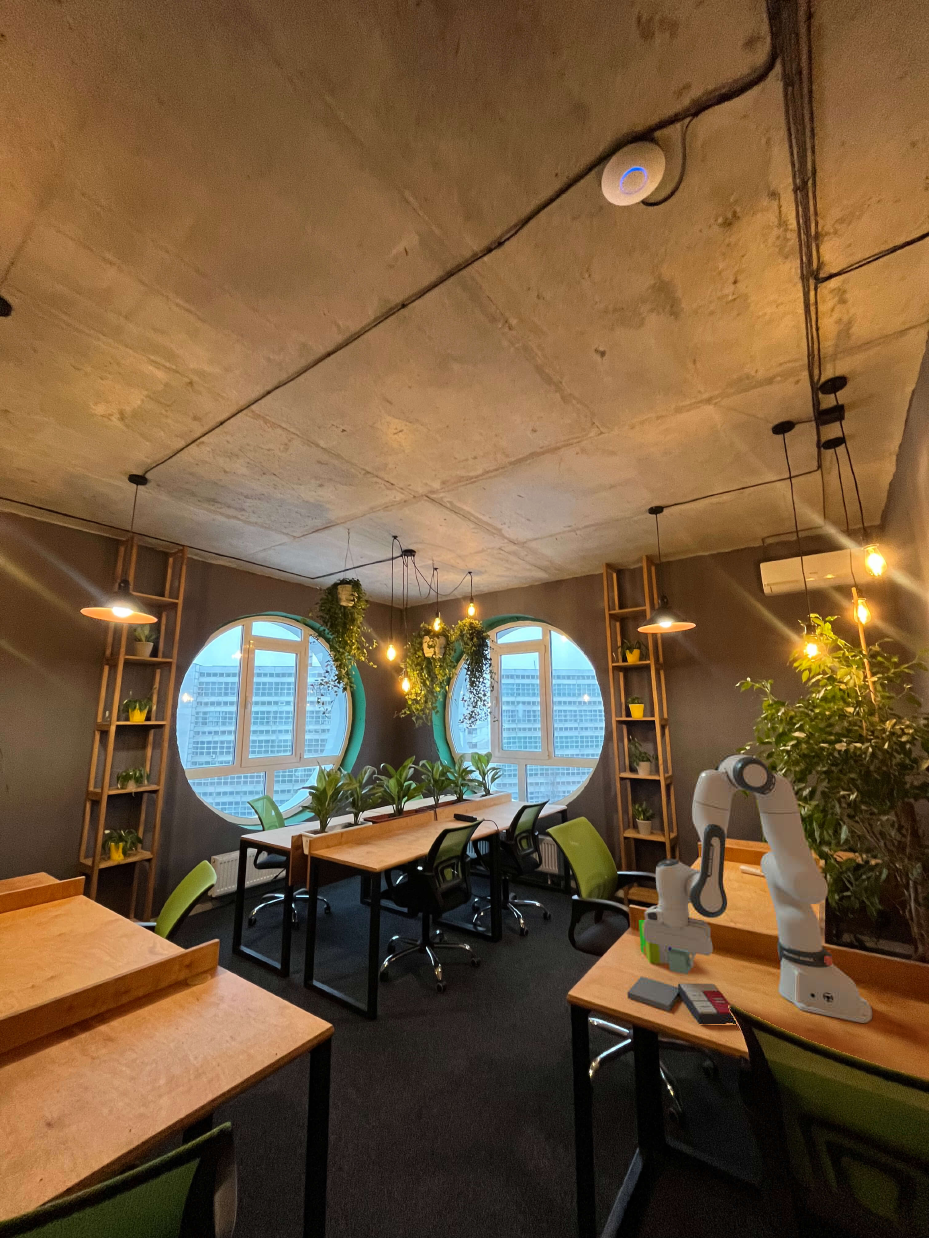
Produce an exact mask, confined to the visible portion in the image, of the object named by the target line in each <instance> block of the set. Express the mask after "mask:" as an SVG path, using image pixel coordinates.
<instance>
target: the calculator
mask: <svg viewBox="0 0 929 1238" xmlns="http://www.w3.org/2000/svg"><path fill="white" fill-rule="evenodd" d="M677 987H678V991H679V999H680V1000H681V1002H682V1003H683V1004H684V1005H685V1006H686V1008H687V1010H688V1011H689V1012H690V1014H691V1015H692V1017H693V1018H694V1020H695V1019H696V1020H697V1021H696V1020H695V1021H696V1022H697V1024H698V1023H699V1024H726V1023H733V1024H736V1021H735V1020H734V1018H733V1016H732V1015H731V1013H730V1012H729V1008H728V1005H731V1006H732V1004H731V1003H730V1002H729V1001H728V999H727V998H726V996H724V994H723V993H722V992H721V991H720V989H719V988H718V987H717V985H715V984H714V983H691V982H690V983H689V982H688V983H685V982H684V983H683V982H682V983H678V984H677ZM699 1024H698V1025H699ZM736 1026H737V1024H736ZM737 1027H738V1026H737Z"/></svg>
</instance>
